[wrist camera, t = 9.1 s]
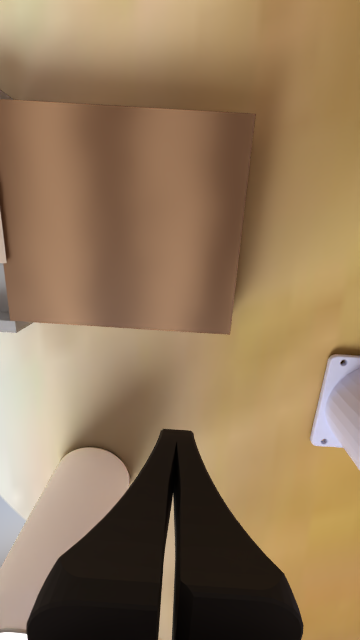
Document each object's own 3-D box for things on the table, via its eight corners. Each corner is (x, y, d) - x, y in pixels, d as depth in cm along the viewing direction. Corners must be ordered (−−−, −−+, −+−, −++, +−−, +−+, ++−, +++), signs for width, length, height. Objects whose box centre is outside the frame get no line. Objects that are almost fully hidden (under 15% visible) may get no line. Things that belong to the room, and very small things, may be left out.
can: (49, 447, 25) (-66, 630, 14) (123, 440, 25) (67, 622, 13) (68, 504, 27) (-21, 706, 16) (136, 498, 27) (97, 702, 15)
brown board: (244, 132, 18) (255, 113, 15) (224, 320, 21) (229, 334, 18) (15, 119, 18) (-18, 97, 15) (34, 308, 21) (10, 320, 19)
